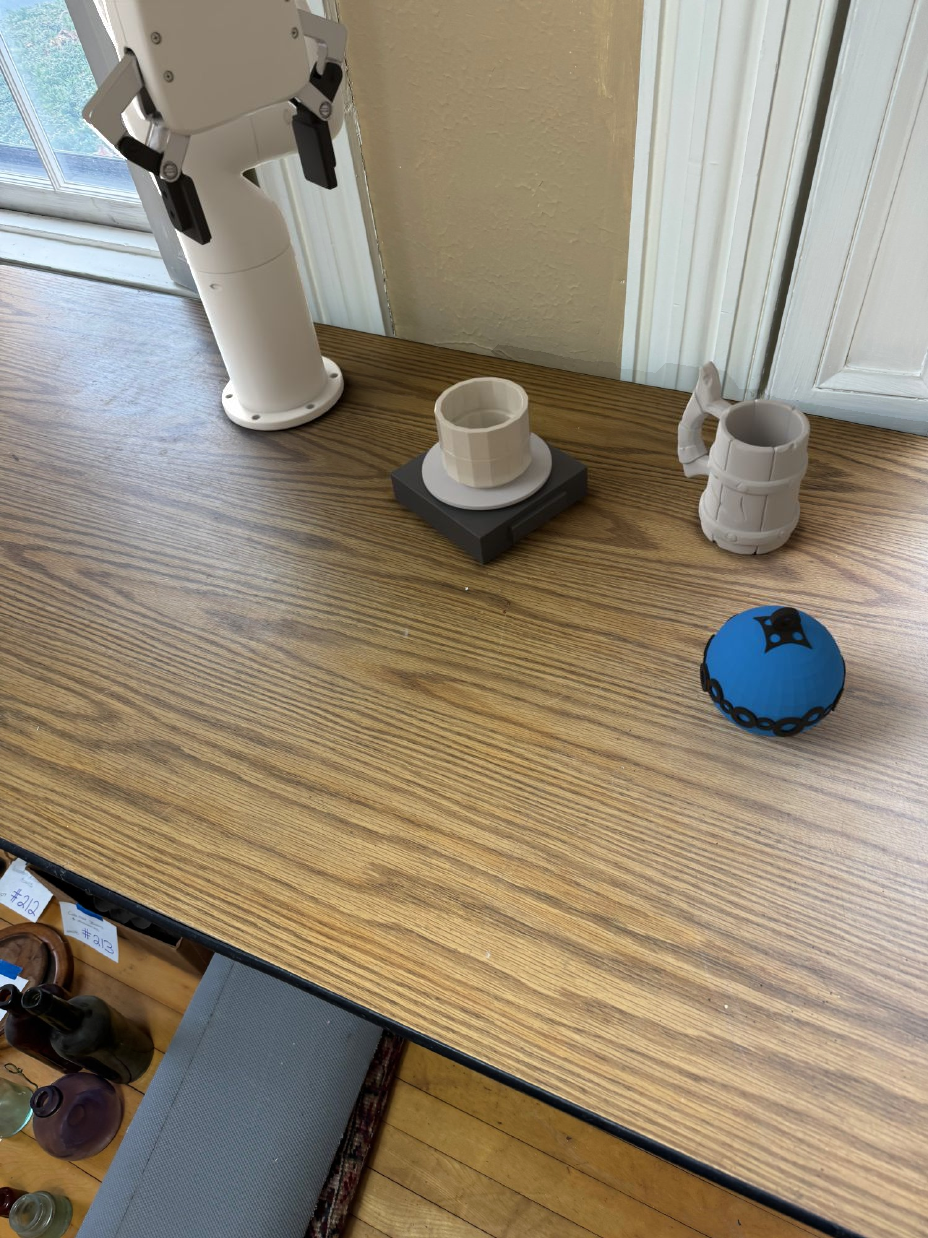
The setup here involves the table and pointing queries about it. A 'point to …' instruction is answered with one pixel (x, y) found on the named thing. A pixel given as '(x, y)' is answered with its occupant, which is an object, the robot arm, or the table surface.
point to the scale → (490, 499)
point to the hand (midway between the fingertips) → (261, 209)
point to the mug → (745, 466)
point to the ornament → (773, 671)
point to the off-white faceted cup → (484, 431)
